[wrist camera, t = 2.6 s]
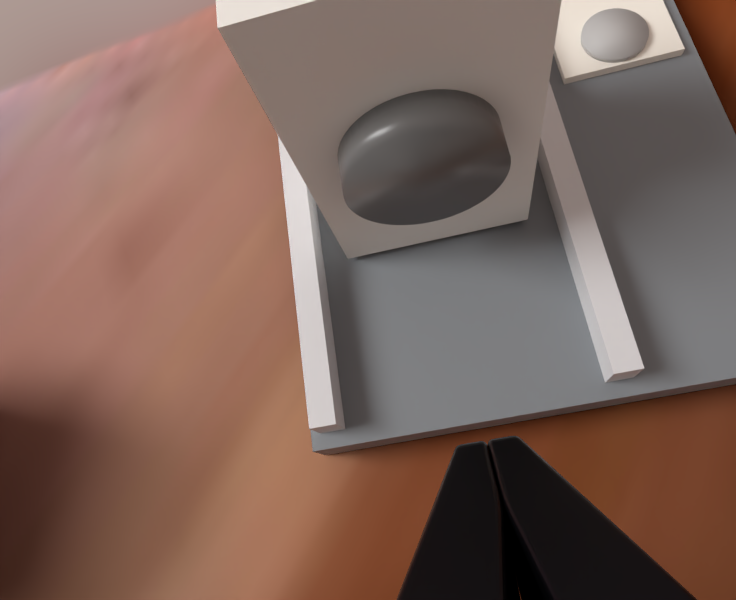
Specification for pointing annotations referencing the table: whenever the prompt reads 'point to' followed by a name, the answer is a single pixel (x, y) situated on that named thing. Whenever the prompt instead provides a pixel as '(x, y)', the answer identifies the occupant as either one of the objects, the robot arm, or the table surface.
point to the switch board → (543, 260)
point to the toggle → (402, 107)
